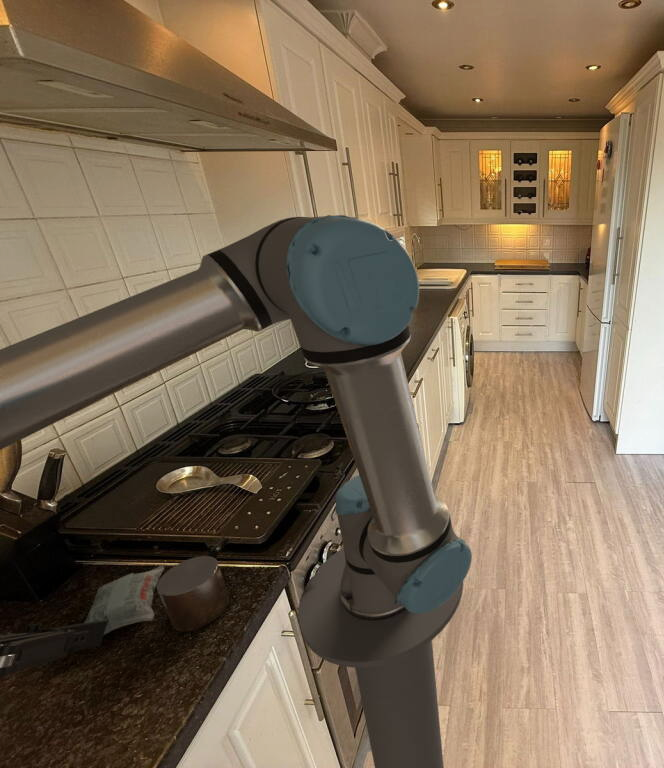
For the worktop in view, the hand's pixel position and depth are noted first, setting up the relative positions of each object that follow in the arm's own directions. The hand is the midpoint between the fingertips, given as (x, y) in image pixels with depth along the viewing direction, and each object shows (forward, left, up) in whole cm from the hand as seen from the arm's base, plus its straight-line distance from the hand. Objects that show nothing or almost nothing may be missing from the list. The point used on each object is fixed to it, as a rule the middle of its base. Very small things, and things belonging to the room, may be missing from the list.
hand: (97, 633), depth 51 cm
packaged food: (+12, -15, -14) cm, 24 cm away
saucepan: (+1, -18, -14) cm, 23 cm away
